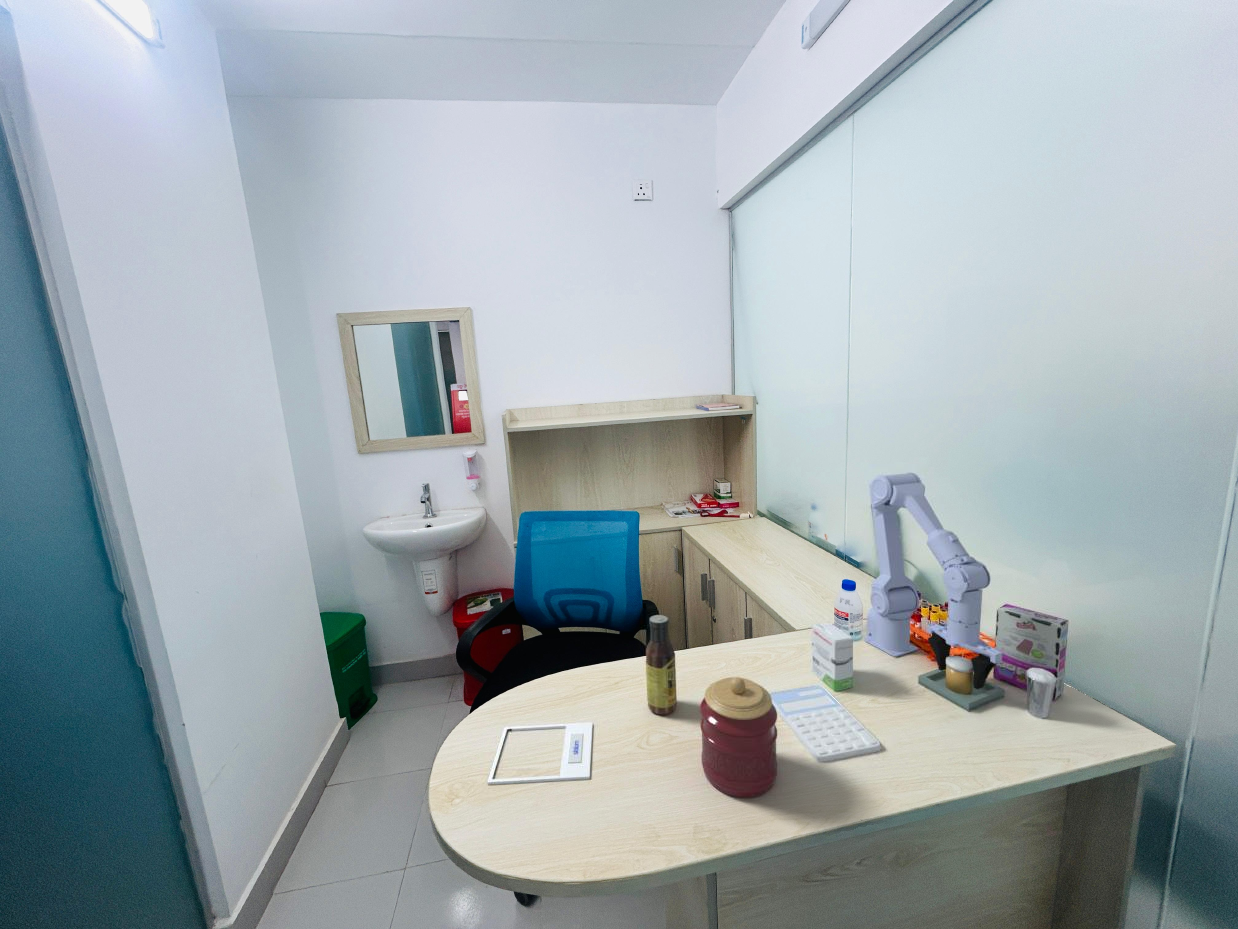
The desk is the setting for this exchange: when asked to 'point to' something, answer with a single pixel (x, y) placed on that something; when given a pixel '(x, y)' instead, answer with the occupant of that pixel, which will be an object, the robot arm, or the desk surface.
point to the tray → (968, 702)
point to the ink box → (832, 656)
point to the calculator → (823, 724)
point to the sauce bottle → (660, 668)
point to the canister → (739, 737)
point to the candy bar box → (1029, 645)
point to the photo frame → (573, 755)
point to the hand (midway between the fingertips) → (960, 678)
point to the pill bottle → (959, 675)
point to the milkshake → (1040, 691)
